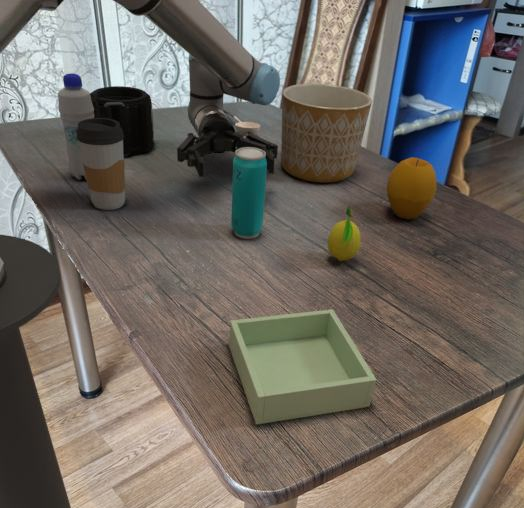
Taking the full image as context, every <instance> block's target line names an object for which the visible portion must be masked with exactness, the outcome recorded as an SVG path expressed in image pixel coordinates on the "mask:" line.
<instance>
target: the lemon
mask: <svg viewBox="0 0 524 508" xmlns="http://www.w3.org/2000/svg"><path fill="white" fill-rule="evenodd" d="M351 212H352V207H350V205H349V206H348V207H347V208H346V211H345V214H346V215H347V216H348V217H347V219H345V220H341V221H339V222H337V223H335V224H334V225H333V227H332V228H331V231H330V232H329V234H328V238H327V249H328V252H329V253H330V255H331V256H332V257H333V258H335V259H337V260H338V261H339V262H343V261H348V260H352V259H353V258H355V257H356V255H357V254H358V252H359V250H360V248H361V243H362V242H361V241H362V238H361V231H360V229H359V227H358V225H356V223H355V222H353V221H351V220H350V218H354V216H353V215H352V214H351Z"/></svg>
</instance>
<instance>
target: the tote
mask: <svg viewBox="0 0 524 508" xmlns="http://www.w3.org/2000/svg"><path fill="white" fill-rule="evenodd" d="M228 343H229V344H228V345H229V346H228V348H229V351H230V353H231V356H232V360H233V362H234V365H235V368H236V371H237V374H238V377H239V379H240V382H241V386H242V388H243V391H244V394H245V397H246V400H247V403H248V406H249V408H250V411H251V414H252V417H253V421H254V423H255V425H264V424H269V423H275V422H276V423H277V422H282V421H288V420H294V419H299V418H307V417H313V416H314V417H315V416H319V415H326V414H333V413H338V412H344V411H351V410H357V409H363V408H370V406H371V402H372V399H373V395H374V391H375V389H376V384H377V381H378V379H377V378H376V376H375V375H374V373H373V372H372V370H371V368H370V366H369V365H368V363H367V362H366V360H365V358H364V357H363V355H362V353H361V352H360V350H359V349H358V347H357V345H356V344H355V342H354V341H353V339H352V337H351V336H350V334H349V333H348V331H347V329H346V328H345V326H344V325H343V323H342V321H341V320H340V319H339V317H338V315H337V313H336V312H335V310H334V309H333V308H332V309H323V310H314V311H306V312H295V313H287V314H277V315H267V316H259V317H258V316H257V317H251V318H240V319H232V320H231V319H230V320H229V341H228Z"/></svg>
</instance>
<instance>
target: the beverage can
mask: <svg viewBox="0 0 524 508" xmlns="http://www.w3.org/2000/svg"><path fill="white" fill-rule="evenodd" d="M234 155H235V156H234V157H233V160H232V185H231V186H232V188H231V189H232V190H231V191H232V192H231V198H232V199H231V228H232V231H233V233H234V235H235V236H236V237H237V238H239V239H243V240H252V239H253V240H254V239H255V238H257V237H258V236H259V235H260V233H261V232H262V229H263V225H264V212H265V199H266V198H265V197H266V186H267V185H266V184H267V171H268V170H267V161H266V158H265V156H266V153H265V151H263V150H261V149H258V148H253V147H243V148H239V149H237V150H236V151H235V153H234Z"/></svg>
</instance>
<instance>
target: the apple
mask: <svg viewBox="0 0 524 508" xmlns="http://www.w3.org/2000/svg"><path fill="white" fill-rule="evenodd" d="M386 185H387V186H386V195H387V199H388V202H389V204H390V205H389V206H390V207H391V209H392V212H393V213H394V214H395V216H397V217H399V218H400V219H405V220H409V221H410V220H415V219H416V218H418V217H419V216H421V215H422V213H424V211H426V209H427V208H428V207H429V206H430V204H431V202H432V201H433V199H434V198H435V195H436V192H437V174H436V171H435V168H434V166H433V165H432V164H431V163H430V162H429V161H427V160H424V159H422V158H418V157H414V156H413V157H412V156H411V157H408V158H406V159H403V160H401V161H400V162H399V163H398V164H396V165H395V167H394V168H393V170H392V171H391V173H390V174H389V177H388V179H387V184H386Z"/></svg>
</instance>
